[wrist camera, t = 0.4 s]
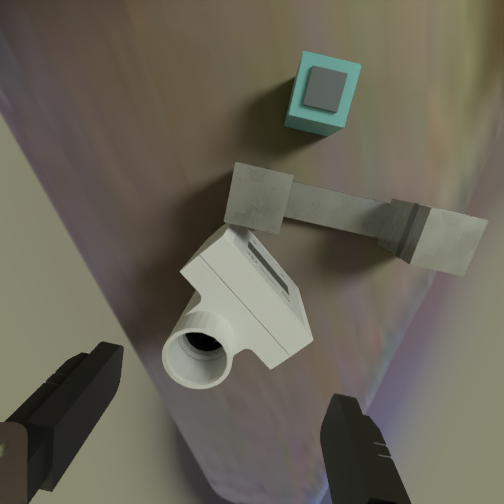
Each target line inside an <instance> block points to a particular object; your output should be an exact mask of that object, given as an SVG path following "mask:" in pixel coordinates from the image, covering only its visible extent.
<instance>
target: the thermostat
mask: <svg viewBox="0 0 504 504" xmlns="http://www.w3.org/2000/svg"><path fill="white" fill-rule="evenodd" d="M180 273H181V274H182V275H183V276H184V277H185V278H186V279H187V280H188V281H189V282H190V283H191V285H192V286H193V287H194V288H195V289H196V291H195V292H194V294H193V296H192V298H191V299H190V301H189V303H188V305H187V306H186V308H185V310H184V312H183V313H182V315H181V317H180V319H179V320H178V322H177V324H176V325H175V327H174V329H173V331H172V332H171V334H170V336H169V338H168V339H167V341H166V343H165V345H164V348H163V350H162V361H163V365H164V368H165V370H166V371H167V373H168V374H169V375H170V377H171V378H172V379H174V380H175V381H176V382H177V383H179V384H181V385H183V386H186V387H189V388H193V389H206V388H211V387H213V386H216V385H218V384H219V383H221V382H222V381H223V380H224V379H225V378H226V377H227V375H228V374H229V372H230V370H231V365H232V360H233V356H234V355H235V354H237V353H238V352H240V351H241V350H243V349H246V348H247V349H251V350H253V351H254V353H255V354H256V355H257V356H258V357H259V358H260V359H261V360H262V361H263V362H264V363H265V364H266V365H267V367H268V368H269V369H270V370H271V369H272V368H274V367H275V366H277V365H279V364H280V363H282V362H283V361H285V360H286V359H288V358H289V357H290V356H292V355H294V354H295V353H296V352H298V351H299V350H301V349H302V348H303V347H305V346H306V345H308V344H309V343H310V342H312V341H313V337H312V334H311V330H310V327H309V324H308V320H307V317H306V313H305V310H304V306H303V303H302V299H301V296H300V292H299V289H298V287H297V286H296V285H295V283H294V282H293V281H292V280H291V279H290V277H289V276H288V275H287V274H286V273H285V271H284V270H283V269H282V268H281V267H280V265H279V264H278V263H277V262H276V261H275V260H274V258H273V257H272V256H271V255H270V254H269V252H268V251H267V250H266V249H265V248H264V246H263V245H262V244H261V243H260V242H259V240H258V239H257V238H256V237H255V236H254V235H253V233H252V232H251V231H250V230H249V229H248V227H243V226H239V225H234V224H230V223H225V224H224V225H223V226H221V227H220V228H219V229H218V230H217V231H216V232H215V233H213V234H212V235H211V236H210V237H209V238H208V239H207V240H206V241H205V242H204V243H203V244H202V246H201V247H200V248H199V249H198V250H197V251H196V253H195V254H194V255H193V256H192V257H191V259H190V260H189V261H188V262H187V263H186V264H185V266H184V267H183V268H182V269H181V270H180Z"/></svg>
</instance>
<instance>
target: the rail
mask: <svg viewBox="0 0 504 504" xmlns="http://www.w3.org/2000/svg"><path fill="white" fill-rule="evenodd" d="M293 177H294V175H292V174H288V173H283V172H279V171H275V170H270V169H266V168H262V167H257V166H253V165H249V164H244V163H240V162H235V167H234V172H233V177H232V182H231V187H230V192H229V197H228V202H227V208H226V213H225V218H224V222H226V223H230V224H234V225H239V226H243V227H248V228H252V229H256V230H261V231H265V232H270V233H274V234H278V235H279V232H280V228H281V224H282V220H283V217H288V218H292V219H297V220H301V221H305V222H310V223H314V224H318V225H323V226H327V227H332V228H336V229H340V230H345V231H349V232H353V233H358V234H362V235H367V236H371V237H375V238H378V241H377V244H379V245H380V246H382V247H383V248H385V249H387V250H388V251H390V252H391V253H393V254H394V255H395V256H396V257H398V258H400V259H402V260H404V261H405V262H407V263H408V264H410V265H415V266H419V267H424V268H428V269H432V270H437V271H441V272H446V273H450V274H454V275H459V276H464V274H465V272H466V270H467V267H468V265H469V263H470V261H471V259H472V256H473V254H474V252H475V249H476V247H477V245H478V243H479V241H480V238H481V236H482V234H483V232H484V229H485V227H486V225H487V223H488V220H484V219H480V218H476V217H473V216H469V215H465V214H460V213H456V212H452V211H447V210H443V209H439V208H434V207H430V206H426V205H421V204H417V203H410V202H405V201H400V200H396V199H392V201H391V204H389V203H384V202H380V201H376V200H371V199H367V198H363V197H358V196H354V195H350V194H346V193H341V192H337V191H333V190H328V189H324V188H320V187H315V186H311V185H307V184H302V183H298V182H294V181H293Z"/></svg>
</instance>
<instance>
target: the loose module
mask: <svg viewBox="0 0 504 504" xmlns="http://www.w3.org/2000/svg"><path fill="white" fill-rule="evenodd" d="M361 66H362V65H361V64H357V63H353V62H349V61H345V60H340V59H336V58H332V57H328V56H324V55H319V54H315V53H311V52H307V51H303V54H302V57H301V60H300V64H299V67H298V70H297V73H296V76H295V80H294V84H293V88H292V93H291V97H290V101H289V106H288V110H287V114H286V118H285V123H284V127H289V128H293V129H297V130H301V131H306V132H310V133H314V134H318V135H323V136H327V137H328V136H330V135H331V134H333V133H335V132H337V131H339V130H341V129H342V128H344V126H345V122H346V119H347V115H348V112H349V108H350V105H351V101H352V98H353V94H354V91H355V87H356V84H357V80H358V77H359V73H360V70H361Z"/></svg>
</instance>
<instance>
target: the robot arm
mask: <svg viewBox="0 0 504 504" xmlns="http://www.w3.org/2000/svg"><path fill="white" fill-rule="evenodd" d="M123 351H124V349H123V346H121V345H117V344H112V343H108V342H100V343H99V344H98V345H97V347H95V349H94V350H93V351H92V352H91V353H90V354H87V353H80V354H78V355H76V356H74V357H72V358H70V359H69V360H67V361H66V362H65V363H64V364H63V365H62V366H61V367H60V368H59V369H58V370H57V371H56V373H55V374H53V375H52V376H51V377H49V378H48V380H46V383H43V384H42V386H40V387H39V388H38V389H37V390H36V391H35V392H34V393H33V394H32V395H31V396H30V397H29V398H28V399H27V400H26V401H25V402H24V403H23V404H22V405H21V406H20V407H19V408H18V409H17V410H16V411H15V412H14V413H13V414H12V415H11V416H10V417H9V418H8V419H7V420H6V421H5V422H0V504H29V502H30V501H31V499H32V498H33V497H34V495H35V494H36V492H37V491H38V489H41V490H46V491H51V492H52V491H53V489H54V488H55V486H56V485H57V483H58V482H59V480H60V479H61V477H62V476H63V474H64V473H65V471H66V469H67V468H68V466H69V465H70V463H71V462H72V460H73V459H74V457H75V456H76V454H77V453H78V451H79V449H80V448H81V446H82V445H83V444H84V442H85V440H86V439H87V437H88V436H89V434H90V433H91V431H92V430H93V428H94V427H95V425H96V423H97V422H98V421H99V419H100V417H101V416H102V414H103V413H104V411H105V410H106V408H107V407H108V405H109V404H110V402H111V401H112V399H113V397H114V396H115V394H116V392H117V389H118V386H119V383H120V377H121V368H122V360H123ZM320 441H321V447H322V453H323V458H324V463H325V468H326V473H327V478H328V483H329V488H330V493H331V498H332V503H333V504H411V502H410V499H409V497H408V495H407V492H406V490H405V488H404V485H403V483H402V481H401V478H400V476H399V474H398V471H397V469H396V467H395V464H394V462H393V460H392V459H391V455H390V453H389V450H388V448H387V447H386V443H385V441H384V439H383V436H382V434H381V432H380V429H379V428H378V427H377V426H376V424H375V423H374V422H373V421H372V419H371V418H370V417H369V416H366V415H363V414H362V411H361V409H360V406H359V403H358V401H357V399H356V398H354V397H350V396H345V395H341V394H334V395H333V396H332V399H331V401H330V404H329V407H328V409H327V412H326V415H325V417H324V420H323V423H322V426H321V432H320Z"/></svg>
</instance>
